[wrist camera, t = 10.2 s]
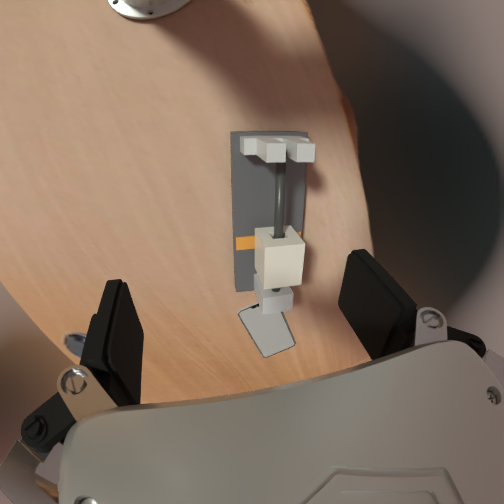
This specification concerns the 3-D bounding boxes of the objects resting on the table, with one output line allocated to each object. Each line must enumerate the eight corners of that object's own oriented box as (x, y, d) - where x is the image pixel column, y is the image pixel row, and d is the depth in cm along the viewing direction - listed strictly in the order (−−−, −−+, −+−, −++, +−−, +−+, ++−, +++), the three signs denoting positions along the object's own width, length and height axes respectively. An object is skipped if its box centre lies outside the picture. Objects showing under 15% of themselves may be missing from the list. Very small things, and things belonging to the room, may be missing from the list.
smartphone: (263, 358, 56) (235, 312, 48) (262, 356, 56) (235, 310, 49) (296, 345, 56) (275, 295, 48) (295, 342, 56) (274, 293, 49)
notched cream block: (254, 228, 38) (264, 247, 33) (290, 225, 39) (305, 243, 34) (254, 266, 41) (263, 289, 36) (288, 263, 42) (301, 284, 37)
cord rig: (230, 131, 34) (242, 138, 26) (303, 131, 36) (335, 140, 28) (235, 286, 46) (245, 326, 38) (294, 279, 48) (314, 315, 39)
